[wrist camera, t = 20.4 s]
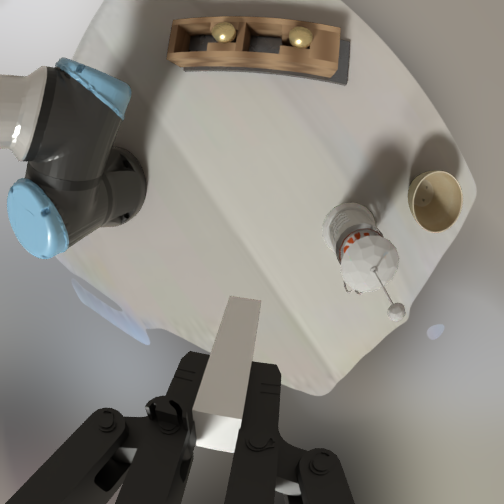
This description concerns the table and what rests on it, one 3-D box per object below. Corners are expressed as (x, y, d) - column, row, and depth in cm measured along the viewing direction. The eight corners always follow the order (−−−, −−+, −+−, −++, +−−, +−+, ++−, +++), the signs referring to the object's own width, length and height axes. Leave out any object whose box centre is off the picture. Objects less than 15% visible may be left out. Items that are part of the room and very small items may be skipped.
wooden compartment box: (180, 67, 37) (166, 59, 32) (185, 31, 34) (173, 19, 29) (330, 77, 36) (337, 69, 30) (333, 40, 33) (340, 27, 27)
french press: (381, 207, 44) (456, 277, 21) (365, 268, 49) (412, 366, 26) (327, 197, 44) (368, 264, 22) (315, 261, 49) (333, 364, 26)
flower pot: (396, 163, 40) (414, 168, 34) (443, 166, 39) (465, 173, 33) (394, 219, 44) (410, 233, 38) (440, 219, 43) (459, 232, 36)
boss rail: (185, 71, 38) (162, 59, 29) (191, 31, 35) (170, 12, 26) (345, 85, 37) (360, 73, 28) (348, 43, 33) (362, 24, 25)
